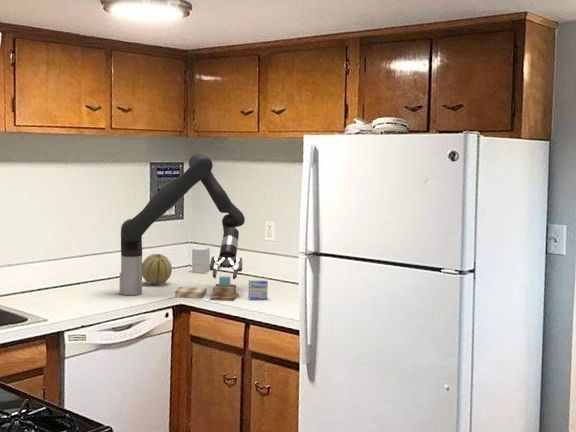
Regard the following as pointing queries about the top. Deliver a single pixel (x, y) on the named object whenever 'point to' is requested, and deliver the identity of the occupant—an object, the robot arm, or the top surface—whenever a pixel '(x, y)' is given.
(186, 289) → the light wooden block
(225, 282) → the teal block
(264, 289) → the medicine box
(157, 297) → the top surface
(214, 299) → the mat
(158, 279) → the cantaloupe
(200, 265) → the supplement box
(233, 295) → the brown wooden box
